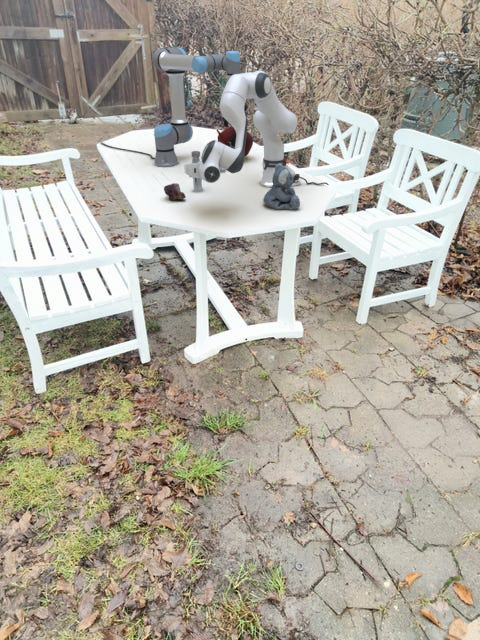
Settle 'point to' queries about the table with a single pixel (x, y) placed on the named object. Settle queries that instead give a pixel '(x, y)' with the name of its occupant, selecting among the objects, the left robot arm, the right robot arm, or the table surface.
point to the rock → (174, 191)
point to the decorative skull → (234, 139)
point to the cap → (195, 154)
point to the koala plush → (282, 190)
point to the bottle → (197, 181)
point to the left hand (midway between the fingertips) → (234, 125)
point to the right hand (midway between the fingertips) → (203, 166)
